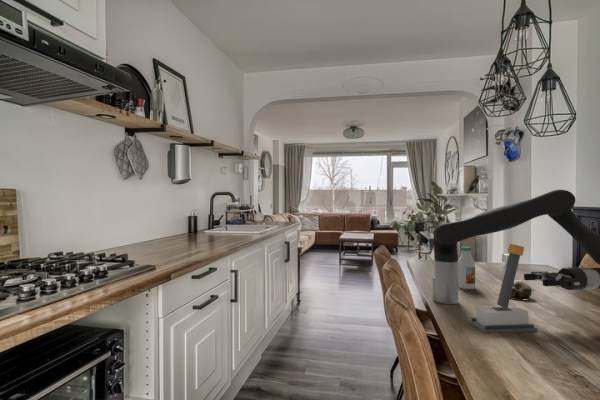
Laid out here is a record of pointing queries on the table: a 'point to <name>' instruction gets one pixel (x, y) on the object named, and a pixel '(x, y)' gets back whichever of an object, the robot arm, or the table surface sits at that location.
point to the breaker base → (501, 319)
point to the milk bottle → (466, 269)
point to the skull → (520, 290)
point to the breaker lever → (509, 274)
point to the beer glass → (505, 262)
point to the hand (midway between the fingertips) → (533, 279)
